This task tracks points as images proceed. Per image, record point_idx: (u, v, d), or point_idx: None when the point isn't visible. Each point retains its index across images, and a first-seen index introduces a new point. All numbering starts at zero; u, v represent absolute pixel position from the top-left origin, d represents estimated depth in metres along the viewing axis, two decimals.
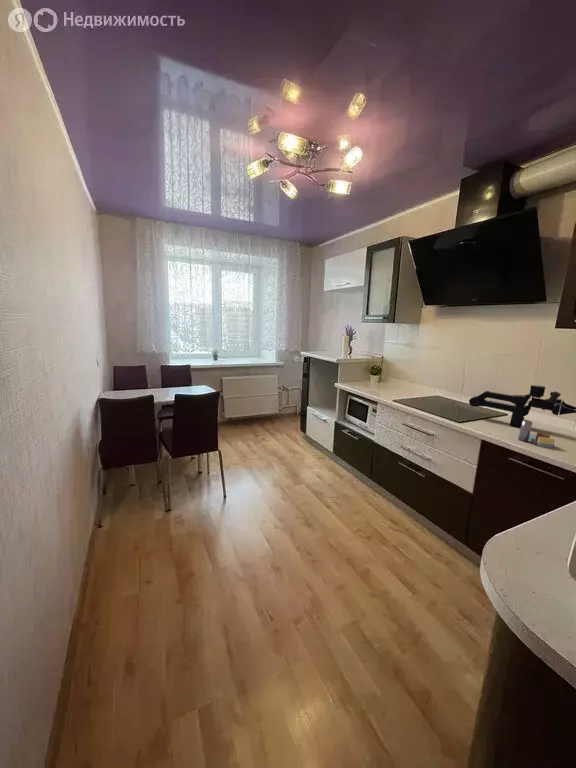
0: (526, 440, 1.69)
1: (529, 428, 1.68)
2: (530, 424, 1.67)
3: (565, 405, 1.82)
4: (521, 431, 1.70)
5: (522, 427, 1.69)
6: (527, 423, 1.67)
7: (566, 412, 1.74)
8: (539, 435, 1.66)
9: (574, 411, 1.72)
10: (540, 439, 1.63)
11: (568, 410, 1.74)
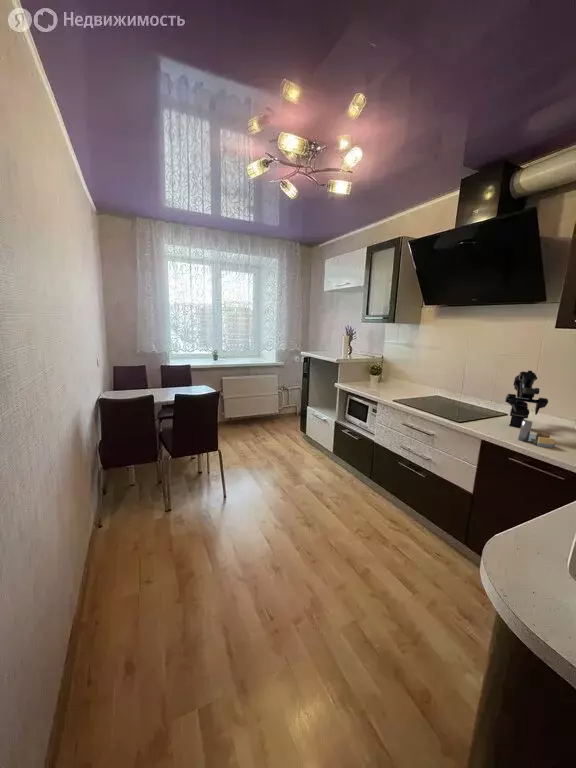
0: (526, 440, 1.69)
1: (529, 428, 1.68)
2: (530, 424, 1.67)
3: (537, 406, 1.75)
4: (521, 431, 1.70)
5: (522, 427, 1.69)
6: (527, 423, 1.67)
7: (512, 406, 1.80)
8: (539, 435, 1.66)
9: (515, 409, 1.77)
10: (540, 439, 1.63)
11: (513, 405, 1.79)
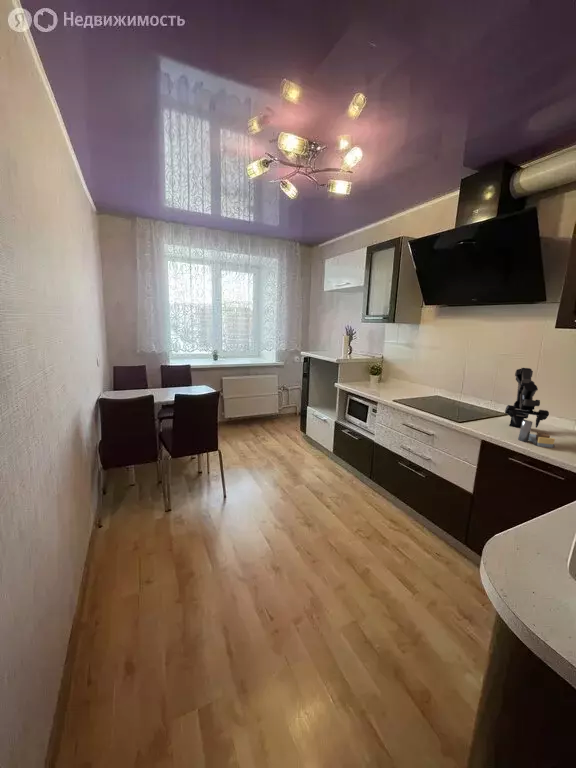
0: (526, 440, 1.69)
1: (529, 428, 1.68)
2: (530, 424, 1.67)
3: (537, 418, 1.70)
4: (521, 431, 1.70)
5: (522, 427, 1.69)
6: (527, 423, 1.67)
7: (512, 417, 1.75)
8: (539, 435, 1.66)
9: (514, 422, 1.73)
10: (540, 439, 1.63)
11: (513, 417, 1.74)
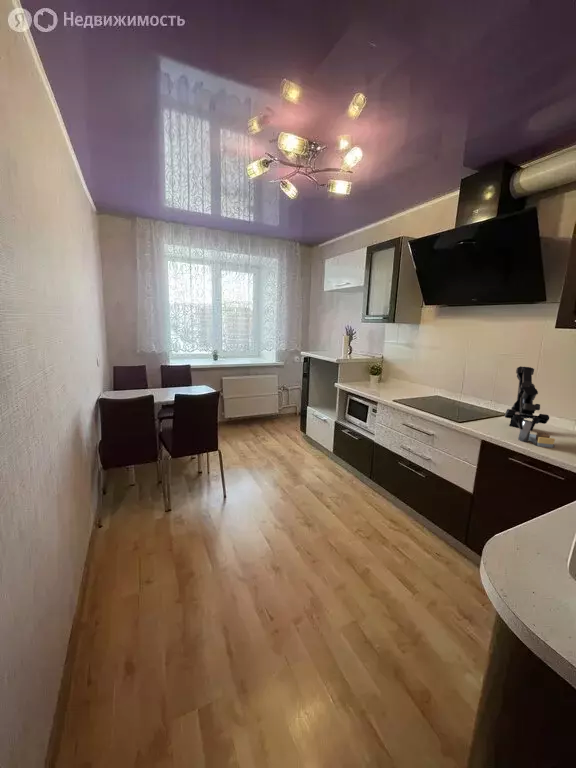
0: (526, 440, 1.69)
1: (529, 428, 1.68)
2: (530, 424, 1.67)
3: (532, 421, 1.69)
4: (521, 431, 1.70)
5: (522, 427, 1.69)
6: (527, 423, 1.67)
7: (517, 422, 1.73)
8: (539, 435, 1.66)
9: (519, 427, 1.70)
10: (540, 439, 1.63)
11: (518, 422, 1.72)
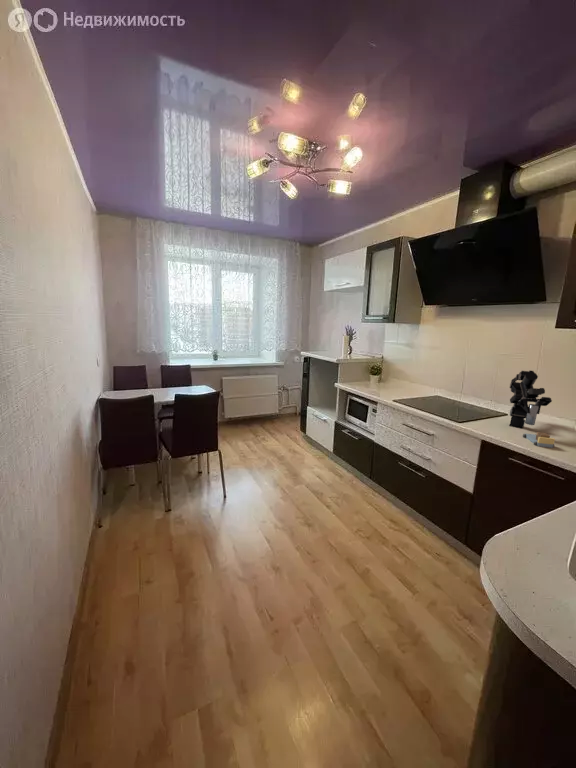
0: (533, 423, 1.77)
1: (536, 411, 1.75)
2: (537, 408, 1.74)
3: None
4: (529, 415, 1.77)
5: (530, 411, 1.76)
6: (535, 407, 1.74)
7: (523, 407, 1.80)
8: (539, 435, 1.66)
9: (527, 411, 1.77)
10: (540, 439, 1.63)
11: (525, 407, 1.78)
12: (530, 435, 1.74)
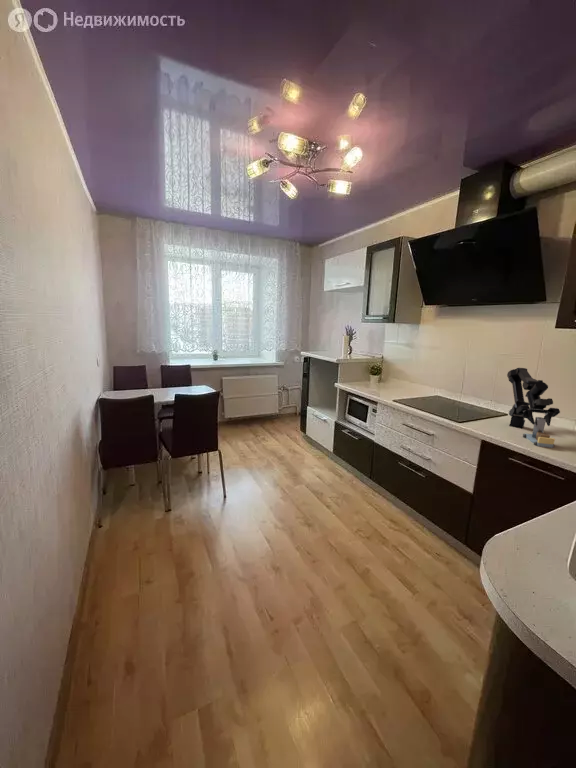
0: None
1: (544, 425, 1.68)
2: (544, 421, 1.67)
3: (547, 416, 1.70)
4: (536, 428, 1.69)
5: (537, 424, 1.69)
6: (542, 420, 1.67)
7: (528, 418, 1.72)
8: (539, 435, 1.66)
9: (532, 422, 1.70)
10: (540, 439, 1.63)
11: (530, 418, 1.71)
12: (530, 435, 1.74)
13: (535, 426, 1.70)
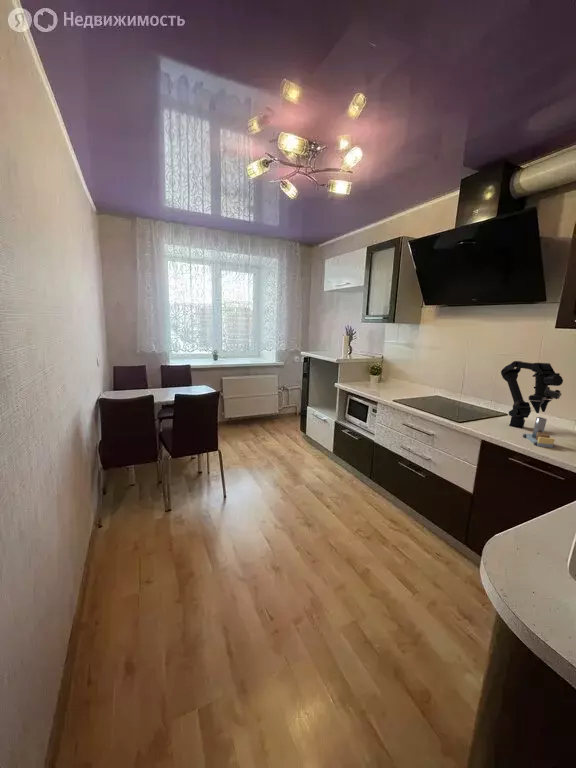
0: None
1: (544, 425, 1.68)
2: (545, 421, 1.67)
3: (545, 403, 1.81)
4: (536, 428, 1.69)
5: (537, 424, 1.69)
6: (543, 420, 1.67)
7: (534, 405, 1.76)
8: (539, 435, 1.66)
9: (537, 411, 1.76)
10: (540, 439, 1.63)
11: (537, 406, 1.75)
12: (530, 435, 1.74)
13: (536, 426, 1.70)
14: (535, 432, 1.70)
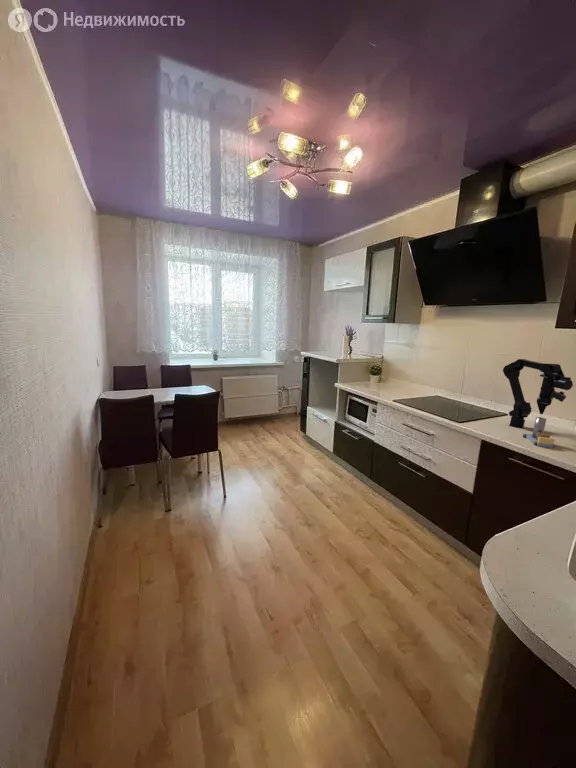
0: None
1: (544, 425, 1.68)
2: (545, 421, 1.67)
3: None
4: (536, 428, 1.70)
5: (537, 424, 1.69)
6: (543, 420, 1.67)
7: (540, 407, 1.75)
8: (539, 435, 1.66)
9: (541, 412, 1.76)
10: (540, 439, 1.63)
11: (542, 408, 1.75)
12: (530, 435, 1.74)
13: (535, 426, 1.70)
14: (535, 432, 1.70)
